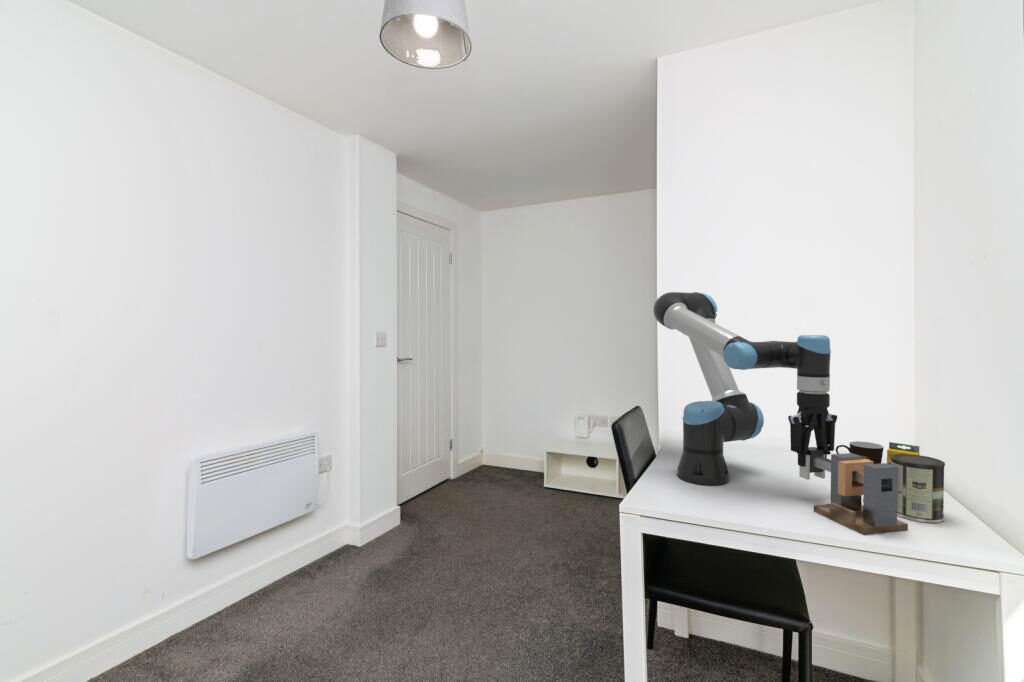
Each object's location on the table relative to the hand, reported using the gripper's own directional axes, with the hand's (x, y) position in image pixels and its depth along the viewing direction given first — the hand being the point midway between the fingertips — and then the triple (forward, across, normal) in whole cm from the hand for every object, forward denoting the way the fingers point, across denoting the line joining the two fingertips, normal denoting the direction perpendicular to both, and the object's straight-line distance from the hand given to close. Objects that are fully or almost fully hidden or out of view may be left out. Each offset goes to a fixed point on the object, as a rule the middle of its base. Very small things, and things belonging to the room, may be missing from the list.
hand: (812, 477), depth 128 cm
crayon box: (+6, +37, +6) cm, 38 cm away
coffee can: (+6, +17, -14) cm, 23 cm away
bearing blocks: (+5, 0, -15) cm, 16 cm away
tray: (+6, 0, -14) cm, 15 cm away
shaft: (-2, 0, -8) cm, 9 cm away
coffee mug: (+6, +32, +15) cm, 36 cm away
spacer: (0, 0, -13) cm, 13 cm away
